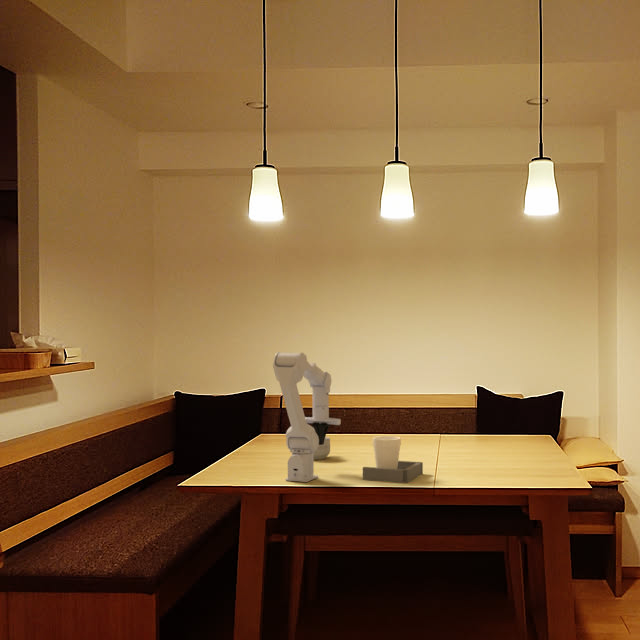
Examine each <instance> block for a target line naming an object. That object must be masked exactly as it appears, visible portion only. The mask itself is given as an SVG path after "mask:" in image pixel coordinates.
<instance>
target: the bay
mask: <svg viewBox="0 0 640 640" xmlns="http://www.w3.org/2000/svg"><path fill="white" fill-rule="evenodd" d="M423 467H424V465H423V462H422V461H410V460H409V461H408V460H407V461H406V460H398V467H397V469H390V468H376V466H374V467H373V466H363V467H362V480H365V481H379V482H389V483H405V484H408V483H410V482H411V481H413V480H415V479H416V478H419V477H420V476H422V475H423V472H424V471H423V469H424V468H423Z"/></svg>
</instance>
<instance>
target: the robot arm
mask: <svg viewBox="0 0 640 640" xmlns="http://www.w3.org/2000/svg"><path fill="white" fill-rule="evenodd" d="M307 358H308V357H307V355H306V354H305V353H304V352H279V351H278V352H276V353H275V355H274V357H273V363H272V369H273V372H274V375H275V378H276V380H277V381H278V382H279V387H280V390H281V393H282V398H283V401H284V405H285V409H286V412H287V417H288V419H289V423H290V426H289V427H288V429H287V430H286V432H285V439H286V447H287V449H288V450H289V452H290V453H291V456H290V457H289V458H288V460H287V477H286V478H285V479H284V480H285V481H288V482H290V481H291V482H303V483H307V482H310V481H312V480H314V479H317V478H318V477H319V475H315V474H314V471H315V469H314V460H313V452H315V451H316V450H317V448H318V445H323V444H324V440H325V436H326V437H327V433H328V430H329V428H330V426H331V425H335V426H340V425H341V424H342V423H341V422H342V421H341V418H335V417H329V415H330V412H329V410H330V408H329V407H330V401H329V400H330V398H329V395H330V394H329V393H330V392H331V385H332V375H331V374H330V372H328V371H323V370H322V368H320V367H318V366H317V364H316V363H315V362H311V363H309V362H308V359H307ZM303 378H305V379H306V380H307V381H308V383H309V386H310V388H312V389H311V390H312V398H311V399H312V416H311V417H310V416H308V417H307V416H305V413H304V409H303V404H302V400H301V397H300V393H299V389H298V385H297V384H298V383H300V382H301V381H302V380H303Z"/></svg>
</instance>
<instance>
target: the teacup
mask: <svg viewBox="0 0 640 640" xmlns="http://www.w3.org/2000/svg"><path fill="white" fill-rule="evenodd" d="M330 452H331V437H329V436H327V435H326V436H325V440H324V444H323V445H318V448H317V450H316V451H315V452H313V461H314V460H315V461H317V460H324V459H326V458H327V457H328V456H329V454H331V453H330Z"/></svg>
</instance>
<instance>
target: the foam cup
mask: <svg viewBox="0 0 640 640" xmlns="http://www.w3.org/2000/svg"><path fill="white" fill-rule="evenodd" d="M401 439H402V438H401V437H400V436H397V435H396V436H395V435H394V436H393V435H376V436H373V437H372V446H373V452H374V459H375V467H376V468H390V469H397V467H398V461H399V459H400V449H401V445H402V443H401V442H402V440H401Z"/></svg>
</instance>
